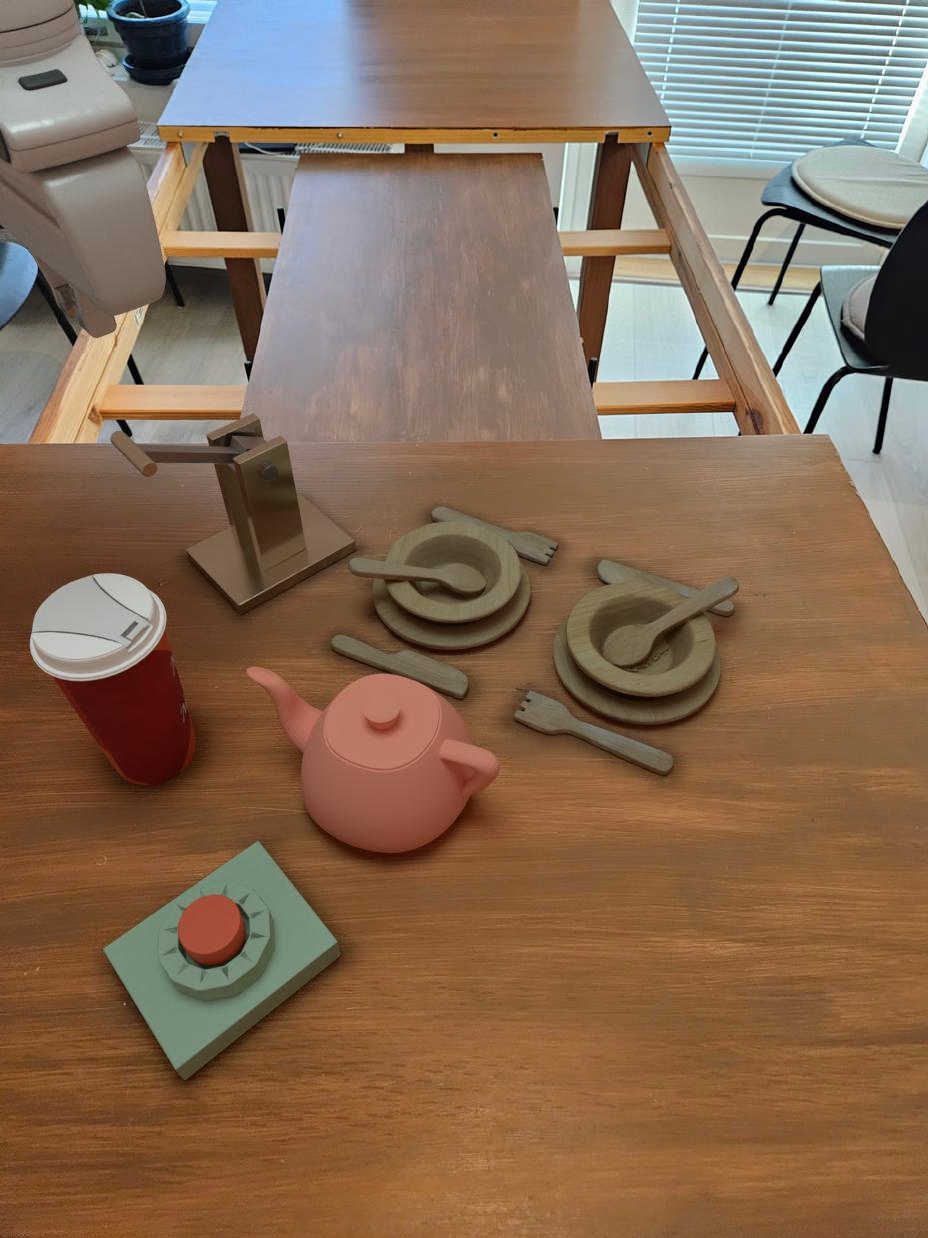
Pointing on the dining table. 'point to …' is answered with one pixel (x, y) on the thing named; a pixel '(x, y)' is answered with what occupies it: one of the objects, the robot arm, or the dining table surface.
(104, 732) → the coffee cup
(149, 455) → the lever
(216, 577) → the metal lever stand
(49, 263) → the robot arm
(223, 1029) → the button box
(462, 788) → the teapot
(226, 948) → the button
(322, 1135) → the dining table surface
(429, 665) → the tableware set
